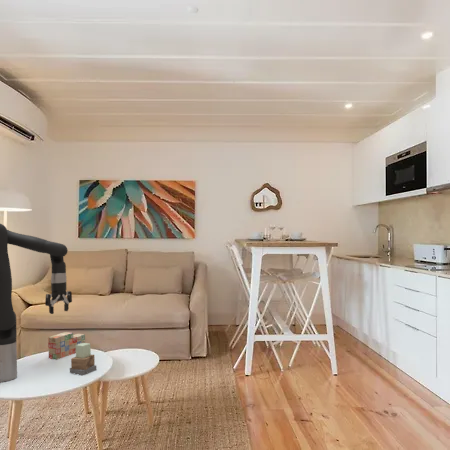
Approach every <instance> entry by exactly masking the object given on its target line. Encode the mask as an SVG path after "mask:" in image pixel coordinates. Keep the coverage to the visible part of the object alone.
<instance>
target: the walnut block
mask: <svg viewBox="0 0 450 450" xmlns="http://www.w3.org/2000/svg"><path fill="white" fill-rule="evenodd" d="M70 362H71V365H70V368H71V369H81V370H86V369H88V368H90V367H91V366H93V365H96V364H95V362H96V361H95V354H91V356H88V357H85V358H78V357H76V356H74V357H72V358H71V361H70Z"/></svg>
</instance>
